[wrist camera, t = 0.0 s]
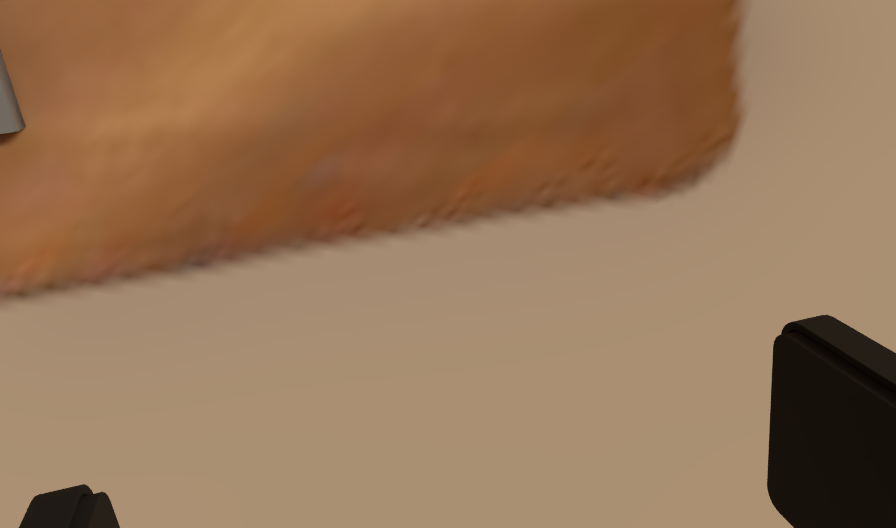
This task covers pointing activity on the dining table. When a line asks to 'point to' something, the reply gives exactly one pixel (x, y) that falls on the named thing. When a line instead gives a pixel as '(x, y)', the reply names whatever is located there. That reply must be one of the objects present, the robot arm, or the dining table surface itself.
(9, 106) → the slate tray
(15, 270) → the dining table surface
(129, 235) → the dining table surface
